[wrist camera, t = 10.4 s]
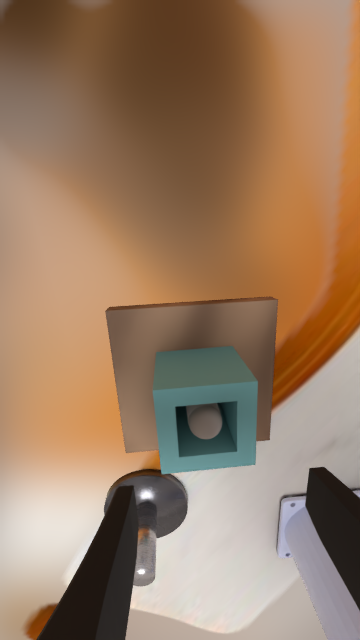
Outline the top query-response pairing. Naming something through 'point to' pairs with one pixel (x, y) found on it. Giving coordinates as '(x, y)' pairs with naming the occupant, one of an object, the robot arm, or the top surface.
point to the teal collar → (204, 388)
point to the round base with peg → (152, 514)
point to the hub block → (183, 334)
